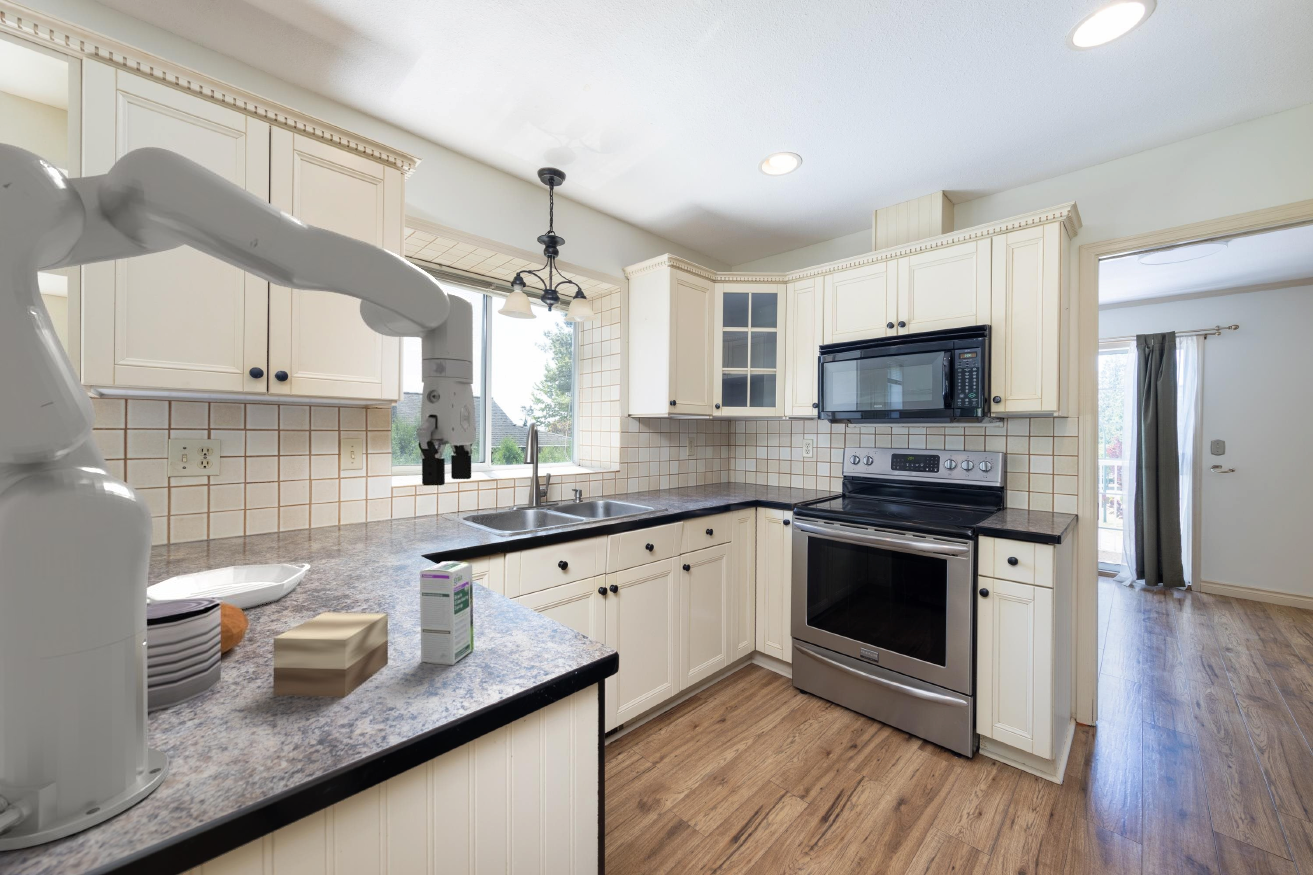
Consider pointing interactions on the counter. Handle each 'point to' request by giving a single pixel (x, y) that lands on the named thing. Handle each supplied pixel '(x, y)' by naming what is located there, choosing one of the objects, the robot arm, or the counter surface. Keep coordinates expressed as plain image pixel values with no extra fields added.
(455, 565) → the syrup box
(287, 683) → the tower base block
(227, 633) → the potato
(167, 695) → the can
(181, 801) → the counter surface
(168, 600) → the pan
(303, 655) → the tower top block
